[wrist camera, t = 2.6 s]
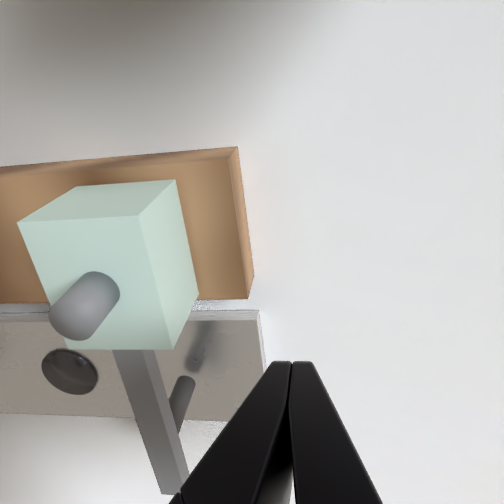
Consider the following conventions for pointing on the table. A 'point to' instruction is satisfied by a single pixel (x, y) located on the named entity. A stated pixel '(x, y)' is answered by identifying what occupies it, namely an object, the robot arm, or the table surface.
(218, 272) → the wood and metal assembly
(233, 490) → the robot arm
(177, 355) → the bolt plate
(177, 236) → the sliding leg
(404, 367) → the table surface
